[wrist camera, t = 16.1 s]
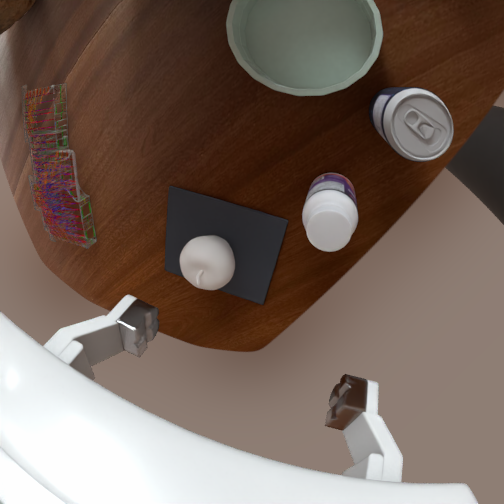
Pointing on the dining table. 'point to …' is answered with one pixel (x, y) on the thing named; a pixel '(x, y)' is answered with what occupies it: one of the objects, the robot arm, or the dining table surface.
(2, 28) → the bowl
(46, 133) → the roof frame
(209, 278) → the plain white apple
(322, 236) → the pill bottle
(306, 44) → the fruit bowl
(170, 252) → the mat
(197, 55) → the dining table surface
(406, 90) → the beverage can
